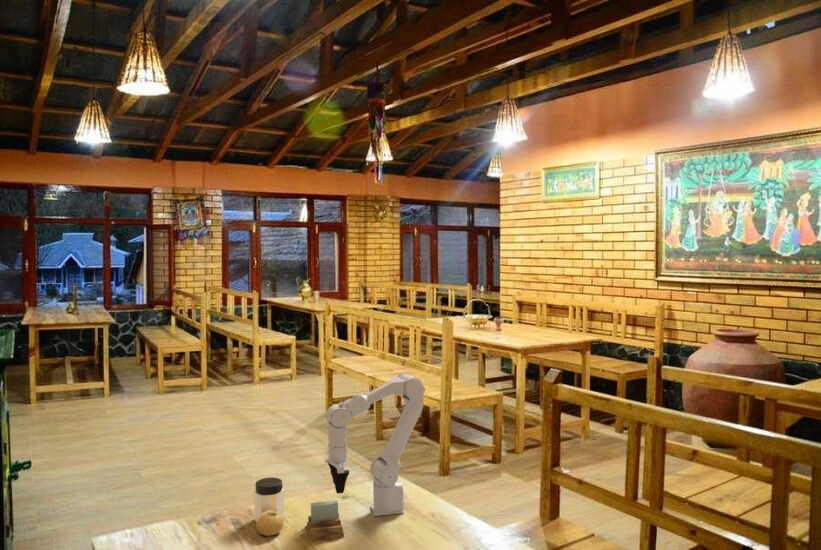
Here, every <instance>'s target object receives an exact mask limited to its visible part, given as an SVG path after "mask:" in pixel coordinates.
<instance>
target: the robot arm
mask: <svg viewBox="0 0 821 550" xmlns="http://www.w3.org/2000/svg"><path fill="white" fill-rule="evenodd" d="M425 392H426V388H425V386H424V383H423V381H422V380H421V379H419V378H418V377H414V376H412V375H410V374H409V373H407V372H402V373H399V374H397V375H396V376H395V375H394V376H392V377H391V378H390V379H389V380H387V381H386V382H384V383H382V384H381V385H379V386H377V387H376V388H374V389H372V390H371V391H369V392H367V393H366V394H362V393H359V394H357V393H354V394H352V395H351V398H349V399H346V400H344V401H340V402H339V403H338V404H333V405H331V406H329V407H328V409H326V413H325V414H324V416H325V419H326V421H327V422H328V423H327V425H328V428H327V430H328V431H327V433H328V435H327V437H328V438H327V439H328V441H327V445H328V447H327V448H328V458H325V459H324V463H325V464H328V466H329V469H330V475H331V478H332V482H333V485H334V489H335V492H336V494H345V493H344V492H345V487H346V484H347V483H346V482H347V479H348V476H349V475H350V470H349V469H346V470H345V468H346V467H345V466H346V465H347V463H348V462H349V458H348V431H347V425H348V424H349V422H350V420H351V419H354V418H355V417H358V416H359V415H361V414H363V413H365V412H367V411H368V410H369V408H370V406H371V405H372V404H374V403H376V402H378V401H380V400H382V399H385V398H387V397H389V396H392V395H396V396H401V397H402V400H403V402H404V404H405V406H404V408H403V410H402V412H401V414H400V417H399V419H398V421H397V423H396V425H395V427H394V429H393V431H392V434H391V435H390V438H389V440H388V442H387V445H386V446H385V449H384V450H382V451H381V452H380V453H379V454H378V456H377V457H376V458H375V459H374V460H373V461H372V462H371V464H370V468H369V470H370V474H371V475H372V476H373V480H372V489H373V490H372V491H373V492H372V494H373V495H372V496H373V497H372V498H373V500H372V502H373V504H370V509H371V510H372V513H373V515H374V517H378V516H388V515H389V516H390V515H396V514H397V515H398V514H404V513H405V511H404V486H403V483H402V481H400V480H399V475H400V474H399V473H400V469H401V467H402V466H401V465H402V463H401V457H402V454H403V452H404V449H405V448H406V445H407V443H408V441H409V438H410V436H411V435H412V433H413V430H414V429H415V426H416V424H417V423H418V419H419V418H420V415H421V414H422V411H423V409H424V394H425Z"/></svg>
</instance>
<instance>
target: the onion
mask: <svg viewBox="0 0 821 550" xmlns="http://www.w3.org/2000/svg"><path fill="white" fill-rule="evenodd" d="M276 510H277V509H276ZM276 510H275V511H270V510H268V511H265V512H264V513H262V514H261V515H260V516H259V517H258V519H257V522H256V521H255V522H256V523H255V528H256V530H257V532H258V533H259V534H260V535H262V536H264V537H271V536H275V535H277V534H279V533H280V532H281V531H282V530H283V529H284V524H285V523H284V519H283V518H282V516H281V515H280V514H279V513H278V512H276Z"/></svg>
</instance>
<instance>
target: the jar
mask: <svg viewBox="0 0 821 550" xmlns="http://www.w3.org/2000/svg"><path fill="white" fill-rule="evenodd" d="M253 495H254V497H253V498H254V500H253V501H254V502H253V503H254V521H255V522H257V519H258V517H259V516H260V515H261V514H262V513H264V512H265V511H268V510H270V511H275V510H276V509H277V510H276V512H278V513H279V514H280V515H281V516H282V518H283V520H284V519H285V489H284V488H283V480H282V479H281V478H279V477H265V478H261V479H257V481H255V490H254V491H253Z"/></svg>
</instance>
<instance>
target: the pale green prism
mask: <svg viewBox="0 0 821 550" xmlns="http://www.w3.org/2000/svg"><path fill="white" fill-rule="evenodd" d="M338 513H339V502H338V500H329V501H320V502H319V501H318V502H310V516H311V522H315V521H325V520H334V519H338Z"/></svg>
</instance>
